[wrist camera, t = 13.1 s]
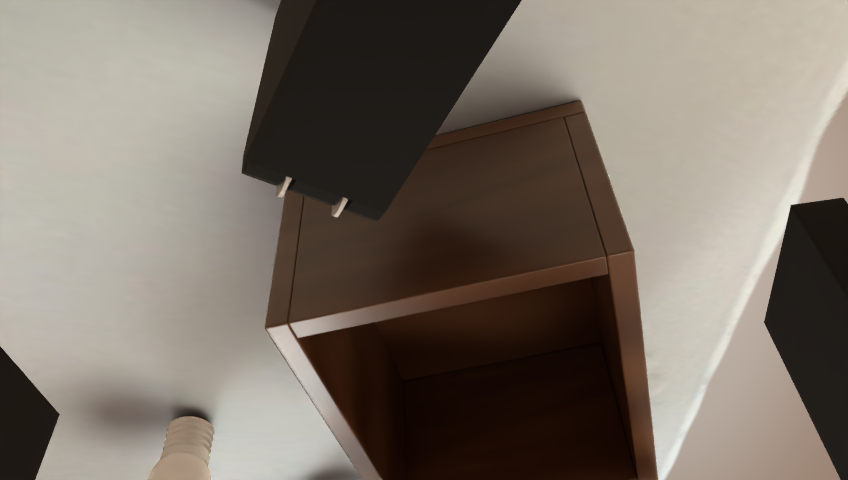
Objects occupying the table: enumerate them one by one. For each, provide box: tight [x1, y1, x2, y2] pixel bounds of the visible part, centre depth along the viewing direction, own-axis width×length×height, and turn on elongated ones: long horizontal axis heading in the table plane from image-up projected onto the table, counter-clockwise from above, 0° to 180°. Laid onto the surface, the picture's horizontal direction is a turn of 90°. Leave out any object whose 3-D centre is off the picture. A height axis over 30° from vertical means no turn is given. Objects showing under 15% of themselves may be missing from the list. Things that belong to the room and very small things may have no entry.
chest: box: [265, 101, 658, 480], centre depth 34 cm, size 16×13×9 cm
